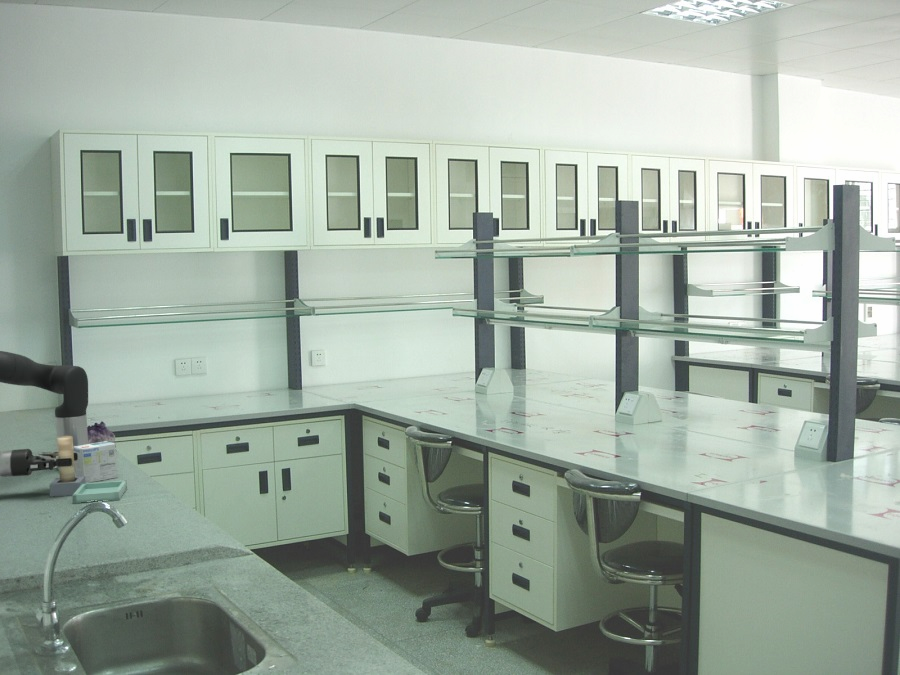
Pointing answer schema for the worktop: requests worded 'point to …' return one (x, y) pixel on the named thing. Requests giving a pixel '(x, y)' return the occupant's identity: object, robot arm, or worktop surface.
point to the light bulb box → (96, 461)
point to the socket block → (65, 487)
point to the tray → (100, 491)
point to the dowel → (66, 452)
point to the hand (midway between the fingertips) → (74, 459)
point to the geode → (99, 433)
